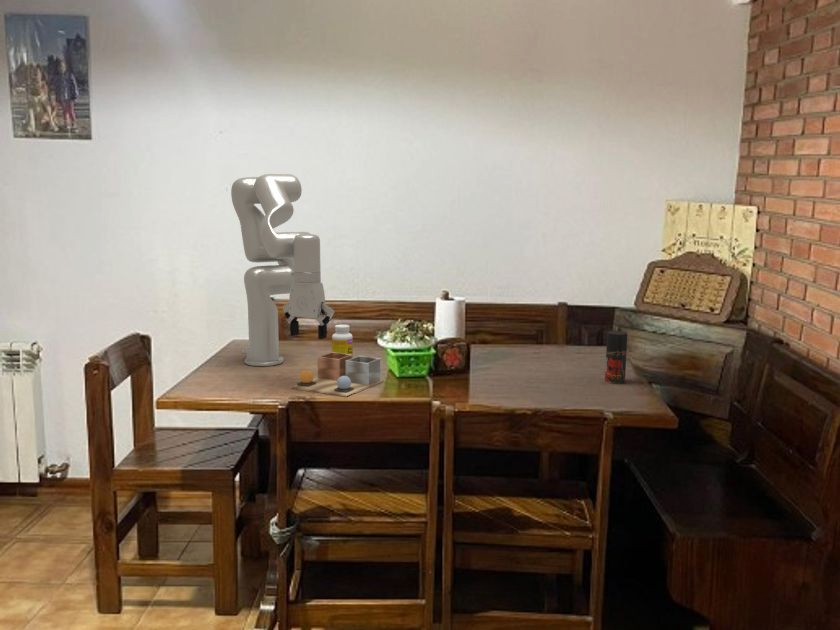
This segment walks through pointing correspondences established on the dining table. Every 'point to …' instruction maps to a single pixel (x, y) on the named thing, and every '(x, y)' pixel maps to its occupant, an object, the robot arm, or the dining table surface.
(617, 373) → the deodorant
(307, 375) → the orange ball
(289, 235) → the robot arm
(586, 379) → the dining table surface
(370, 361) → the stand
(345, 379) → the slate ball
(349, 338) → the supplement bottle
